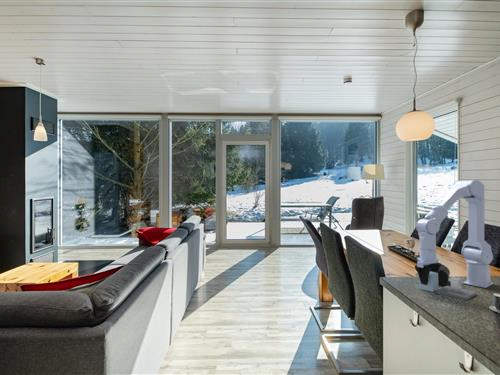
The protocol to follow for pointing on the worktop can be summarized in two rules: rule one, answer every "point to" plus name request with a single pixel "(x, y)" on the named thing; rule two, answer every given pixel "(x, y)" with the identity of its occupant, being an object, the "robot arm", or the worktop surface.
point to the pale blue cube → (430, 283)
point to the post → (456, 284)
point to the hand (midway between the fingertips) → (428, 282)
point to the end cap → (443, 275)
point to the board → (461, 295)
